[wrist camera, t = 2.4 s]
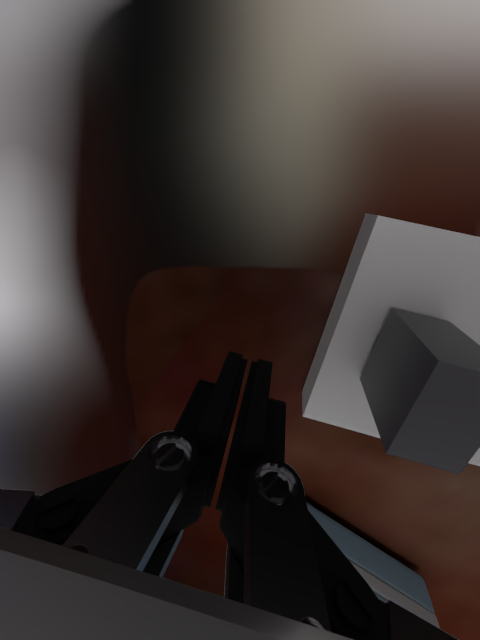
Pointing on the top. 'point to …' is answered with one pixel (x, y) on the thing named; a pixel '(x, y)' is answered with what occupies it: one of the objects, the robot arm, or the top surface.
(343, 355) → the panel
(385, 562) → the radio
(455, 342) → the fader knob
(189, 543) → the top surface
